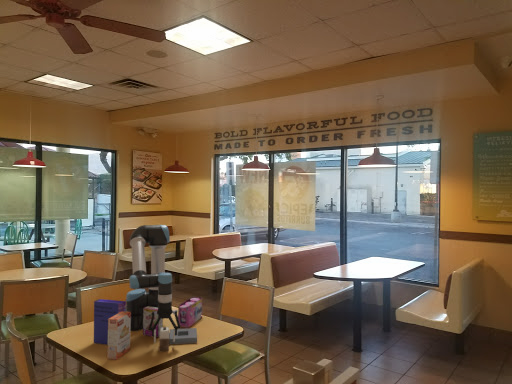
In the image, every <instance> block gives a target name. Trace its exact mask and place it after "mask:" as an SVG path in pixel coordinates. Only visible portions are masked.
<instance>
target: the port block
mask: <svg viewBox="0 0 512 384" xmlns="http://www.w3.org/2000/svg"><path fill="white" fill-rule="evenodd" d="M173 330H174V328H173V329H170V328H169V333H170V339H169V345H182V344H185V345H186V344H197V343H198V332H197V331H198V329H197V327H193V328H190V327H187V328H180V329H177V335H175V342H173Z"/></svg>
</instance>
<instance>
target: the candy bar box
mask: <svg viewBox="0 0 512 384" xmlns="http://www.w3.org/2000/svg"><path fill="white" fill-rule="evenodd" d="M153 311H154V312H155V311H158V308H157V307H149V306H147V307H145V308H143V330H142V335H143V336H146V337H152V331H151V330H149V326H150V322H151V319H152V312H153ZM158 317H159V315H158V314H156V315H155V316H154V320H153V323H152V327H153V326H154V325H155V323H156V321H157V319H158ZM163 321H164V319H162V318H161V319H160V321H159V323H158V324H157V326H156V328H155V330H156V338H160V330H161V328H163V326H164V325H163V324H164V322H163Z"/></svg>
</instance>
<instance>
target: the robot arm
mask: <svg viewBox="0 0 512 384" xmlns="http://www.w3.org/2000/svg"><path fill="white" fill-rule="evenodd" d="M170 239H171V237H170V230H169V228H168V226H167V225H166V224H144V225H140V226H138V227H137V228H135V229H134V230H133V231H132V233H131V234H130V237H129V246H130V247H131V261H132V263H131V264H132V275H130V276H129V288H130V289H132V290H130V291H128V292H127V293H126V294H125V295H126V296H125V298H126V299H125V301H126V312H131V328H130V332H138V331H143V308H145V307H147V306H149V307H157V308H158V311H155V312H154V311H153V312H152V319H151V322H150V326H149V330H151V331H152V336H151V337H153V343H154V344H155V343H156V342H157V340H156V338H157V337H156V330H155V328H156V326H157V324H158V323H159V321H160V319H161V318H162V319H163V320H164V319H168V320H169V322H170V323H171V325H172V327H173V329H174V330H173V342H175V335H177V329H181V326H180V323H179V319H178V310H177V309H175V310H173V308H172V307H173V292H172V291H173V274H172V273H171V272H166V270H165V267H166V265H165V264H166V247H167V246H168V243H170ZM146 244H148V247H150V250H151V252H150V257H151V258H150V260H151V261H150V262H151V263H150V264H151V266H150V272H151V274H147V262H146V253H145V252H146V251H145V249H146V248H145V245H146ZM146 289H148V291H146ZM156 314H158V315H159V317H158V319H157V321H156V323H155V325H154V326H153V327H152V323H153V320H154V316H155V315H156ZM172 314H173V315H174V318H175V321H174V319H173V317H172ZM175 322H176V323H175Z"/></svg>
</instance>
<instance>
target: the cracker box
mask: <svg viewBox="0 0 512 384" xmlns="http://www.w3.org/2000/svg"><path fill="white" fill-rule="evenodd" d="M130 328H131V312H124V311H122V312H120V313H118V314H116V315H114V316H113V317H111V318H109V319H108V345H107V350H106V353H107V360H115V361H117V360H119V359H120V358H121V357H123V355H125V354H126V353H128V352H129V351H130V350H131V331H130Z"/></svg>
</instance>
